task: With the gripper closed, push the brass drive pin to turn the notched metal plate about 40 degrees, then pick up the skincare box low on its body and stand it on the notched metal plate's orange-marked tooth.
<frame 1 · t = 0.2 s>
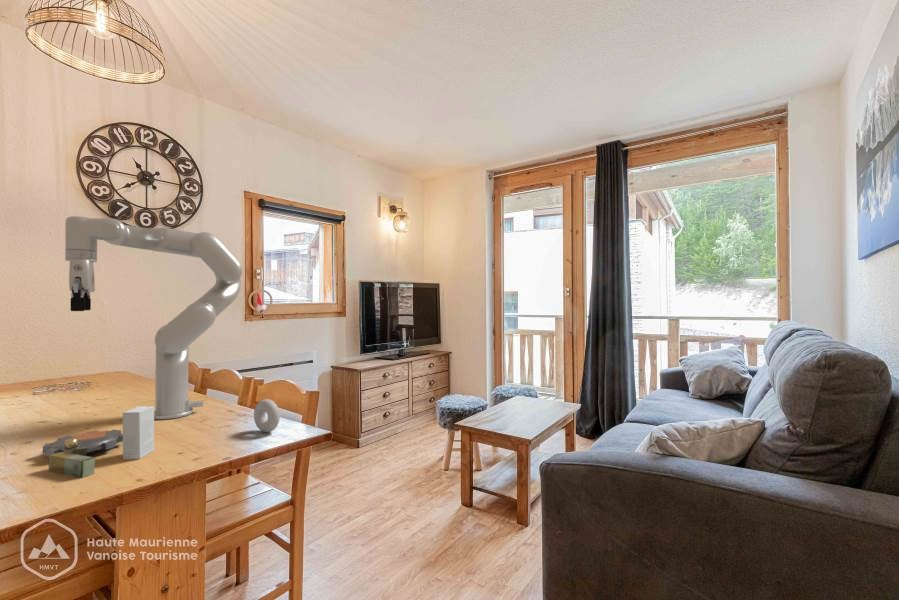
hand: (80, 310, 130), 37 cm above the table, tool pointing down, fingers open, 9 cm apart
donut: (266, 432, 126), on the table
medication box: (71, 473, 96), on the table
notched metal plate: (86, 438, 109), point 3 cm above the table, hinge at 0.0°
skincare box: (138, 456, 107), on the table
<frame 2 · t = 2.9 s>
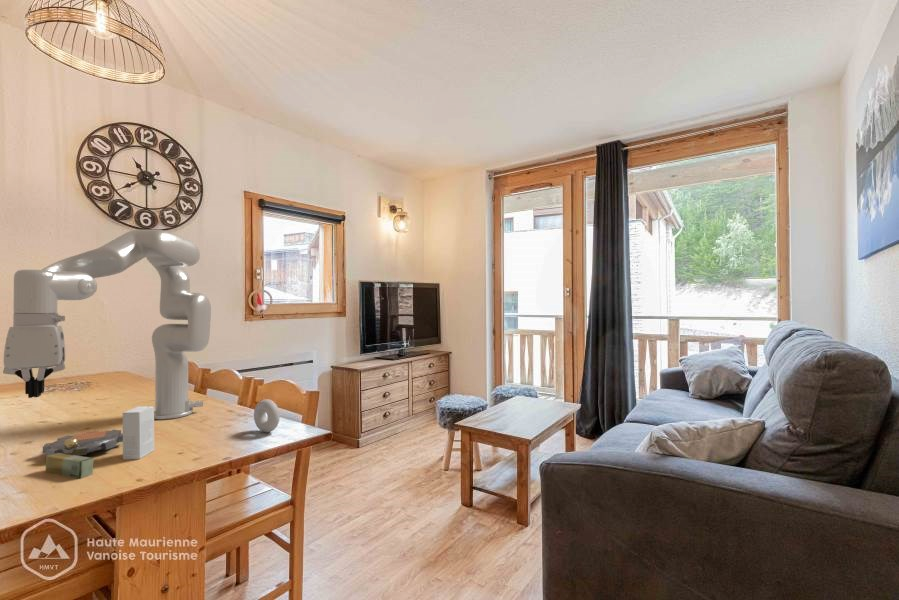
hand: (34, 396, 100), 17 cm above the table, tool pointing down, fingers closed
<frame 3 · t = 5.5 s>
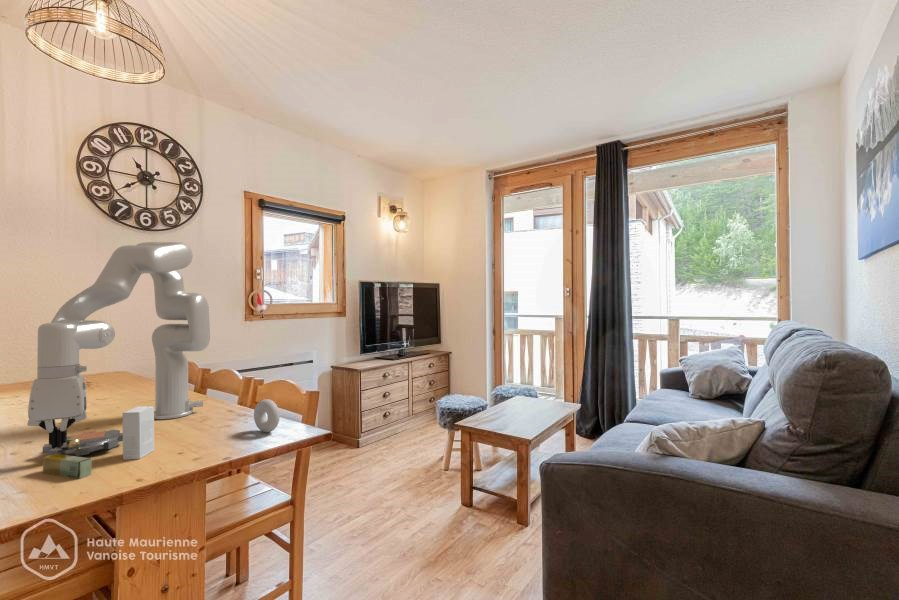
hand: (57, 446, 102), 4 cm above the table, tool pointing down, fingers closed
notched metal plate: (86, 438, 109), point 3 cm above the table, hinge at 4.2°, touching gripper
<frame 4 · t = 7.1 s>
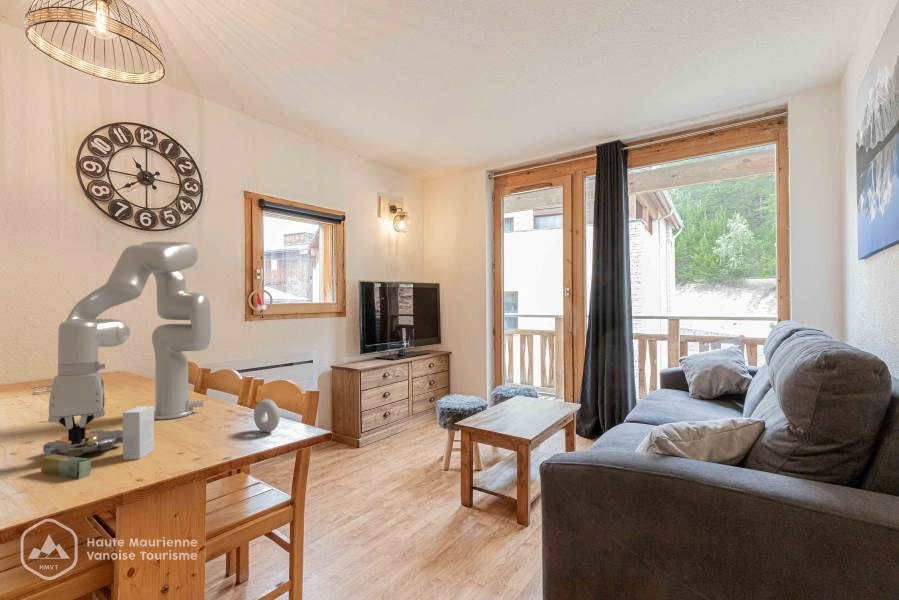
hand: (76, 442, 104), 4 cm above the table, tool pointing down, fingers closed
notched metal plate: (86, 438, 109), point 3 cm above the table, hinge at 37.7°, touching gripper
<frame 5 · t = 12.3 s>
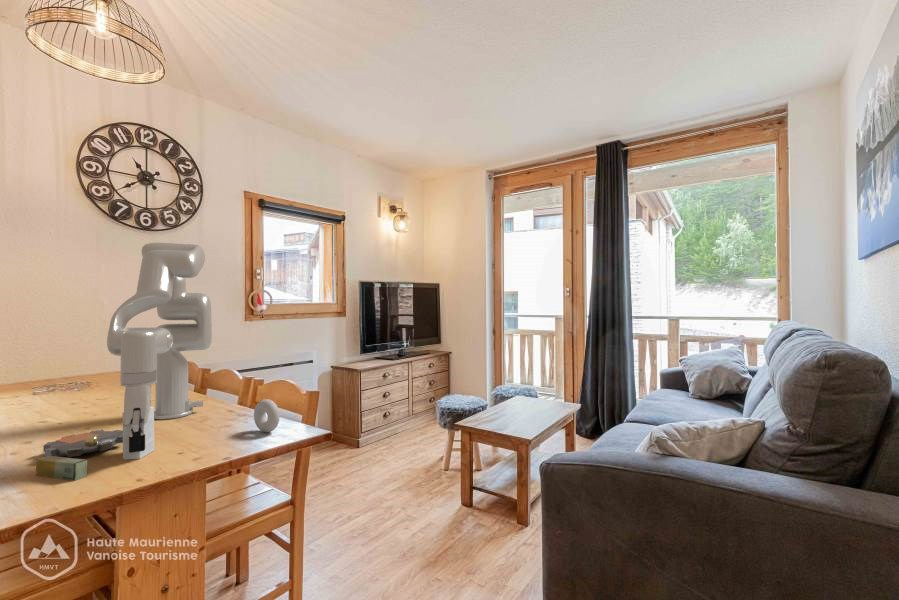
hand: (138, 446, 107), 2 cm above the table, tool pointing down, fingers closed on skincare box, 7 cm apart
notched metal plate: (86, 438, 109), point 3 cm above the table, hinge at 37.7°
skincare box: (138, 456, 107), on the table, touching gripper
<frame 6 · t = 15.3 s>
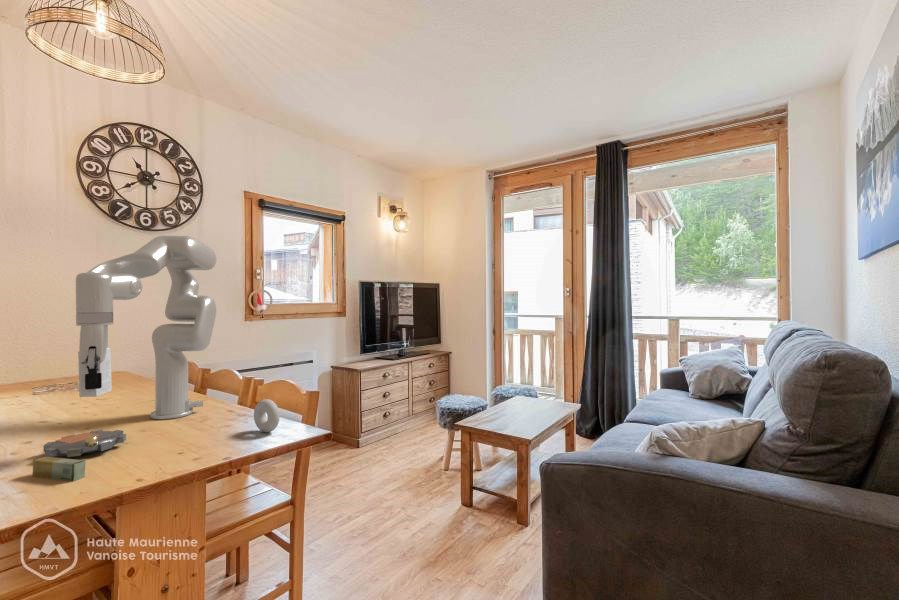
hand: (95, 385, 110), 17 cm above the table, tool pointing down, fingers closed on skincare box, 7 cm apart
skincare box: (95, 395, 110), point 15 cm above the table, touching gripper
when the fingers open (6 cm above the table, at t = 18.4 s): skincare box stays where it is, resting on notched metal plate.
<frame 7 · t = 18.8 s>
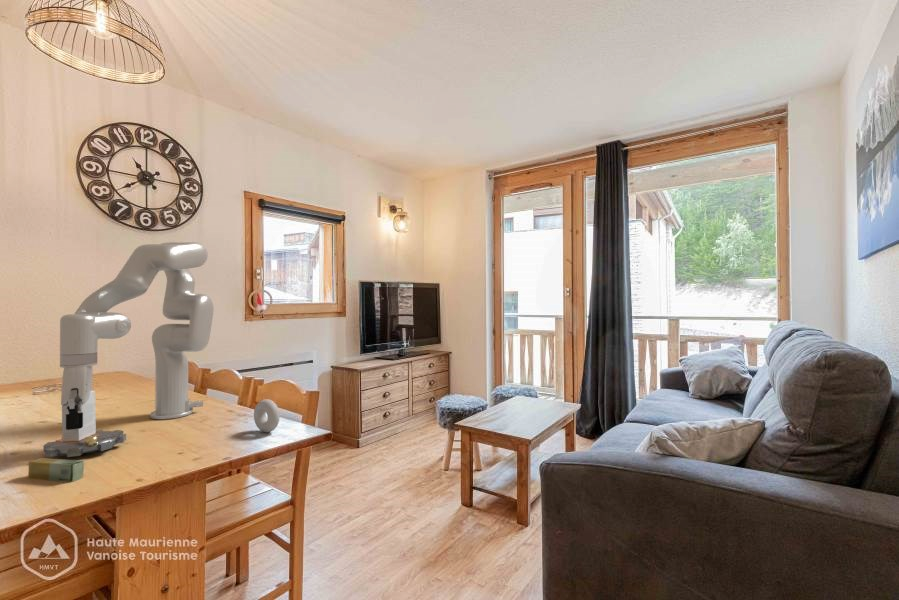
hand: (78, 423, 110), 7 cm above the table, tool pointing down, fingers open, 9 cm apart
notched metal plate: (86, 438, 109), point 3 cm above the table, hinge at 37.7°, touching skincare box
skincare box: (79, 438, 111), point 3 cm above the table, touching notched metal plate
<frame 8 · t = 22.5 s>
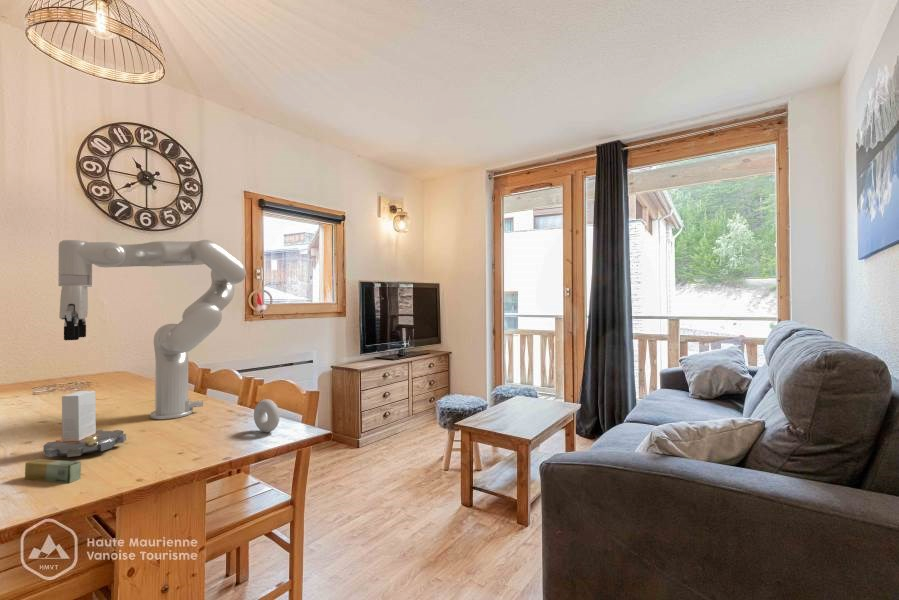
hand: (75, 338, 124), 28 cm above the table, tool pointing down, fingers open, 9 cm apart
at the end: notched metal plate at +38° (first picture: +0°); skincare box inside the target area on the notched metal plate (0.9 cm from its centre), point 2.8 cm above the notched metal plate's base; skincare box tilted 0° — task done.
